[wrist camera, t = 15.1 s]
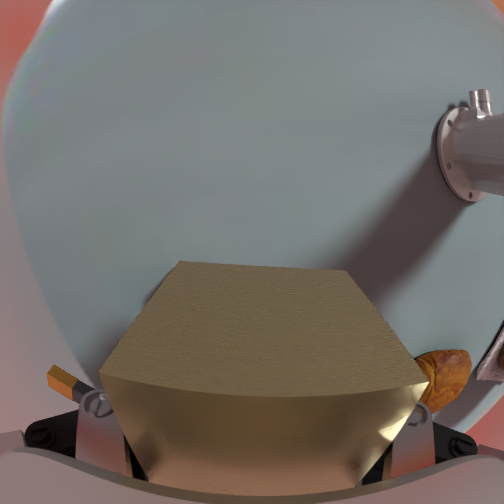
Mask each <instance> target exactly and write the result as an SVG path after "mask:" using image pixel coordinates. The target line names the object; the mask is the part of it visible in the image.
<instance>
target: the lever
mask: <svg viewBox="0 0 504 504" xmlns="http://www.w3.org/2000/svg"><path fill="white" fill-rule="evenodd" d="M47 378H48V385H49V386H50V387H51V388H53V389H54V390H56V391H57V392H59V393H60V394H62V395H64V396H65V397H67V398H69V399H71V400H72V401H75V402H77V403H79V404H80V401H81V399H82V397H83V396H84V395H85V394H86V393H88V392H89V391H92V390H95V389H94V388H92V387H90V386H88V385H87V384H85V383H83V382H81V381H79V380H78V379H77V378H76V377H74V376H72V375H70V374H69V373H67V372H65V371H64V370H62V369H61V368H59V367H57V366H56V365H53V366H52V367H51V369H50V370H49V371H48V372H47Z"/></svg>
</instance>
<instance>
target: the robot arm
mask: <svg viewBox="0 0 504 504" xmlns="http://www.w3.org/2000/svg"><path fill="white" fill-rule="evenodd" d="M478 95H479V96H478ZM469 96H470V102H471V107H469V108H467V107H456V108H453V109H451V110H449V111H448V112H447V113H446V114H445V115H444V116H443V118H442V120H441V122H440V125H439V128H438V134H437V153H438V159H439V164H440V168H441V171H442V174H443V176H444V178H445V180H446V182H447V184H448V186H449V187H450V189H451V190H452V191H453V192H454V193H455V194H456V195H457V196H458V197H460V198H461V199H463V200H466V201H471V202H478V201H480V200H482V199H484V198H485V197H486V196H487V195H488V194H489V193H491V194H496V195H501V196H504V114H494V113H492V112H491V96H490V92H489V91H488V90H485V89H479V90H478V92H476V91H469ZM479 103H480V108H479ZM0 504H504V451H501V450H498V449H494V448H490V447H487V446H484V445H481V444H480V445H479V446H478V447H477V445H476V443H475V441H474V440H473V439H472V438H471V437H470V436H468V435H466V434H464V433H461V432H458V431H455V430H453V429H450V428H447V427H445V426H442V425H439V424H437V423H434V422H432V415H431V412H430V410H429V408H428V407H427V406H426V405H425V404H424V403H422V402H420V401H418V403H417V404H416V406H415V407H414V409H413V411H412V412H411V414H410V416H409V417H408V419H407V420H406V422H405V423H404V425H403V426H402V428H401V429H400V431H399V432H398V434H397V435H396V436H395V438H394V439H393V441H392V442H391V443H390V445H389V446H388V447H387V449H386V450H385V451H384V453H383V454H382V455H381V456H380V458H379V459H378V460H377V461H376V463H375V464H374V465H373V466H372V467H371V469H370V470H369V471H368V472H367V473H366V475H365V476H364V477H363V478H362V479H361V480H360V481H359V482H358V483H357V487H354V488H348V489H342V490H336V491H329V492H321V493H313V494H302V495H285V496H242V495H226V494H215V493H206V492H198V491H191V490H185V489H179V488H174V487H169V486H164V485H159V484H155V483H151V482H149V480H148V477H147V475H146V473H145V472H144V470H143V468H142V467H141V465H140V463H139V462H138V460H137V458H136V456H135V454H134V452H133V451H132V449H131V447H130V445H129V443H128V441H127V439H126V437H125V435H124V433H123V431H122V429H121V427H120V425H119V423H118V420H117V418H116V416H115V414H114V411H113V409H112V407H111V404H110V402H109V399H108V397H107V395H106V392H105V389H95V390H92V391H89V392H88V393H86V394H85V395H84V396H83V397H82V399H81V401H80V405H79V409H78V410H75V411H72V412H68V413H65V414H62V415H58V416H54V417H51V418H47V419H43V420H39V421H36V422H33V423H32V424H31V425H29V426H28V428H27V430H26V432H24V433H23V432H22V431H21V430H18V431H13V432H8V433H2V434H0Z"/></svg>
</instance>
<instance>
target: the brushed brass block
mask: <svg viewBox="0 0 504 504" xmlns="http://www.w3.org/2000/svg"><path fill="white" fill-rule="evenodd" d="M98 373H99V376H100V379H101V381H102V384H103V387H104V389H105V392H106V395H107V397H108V399H109V402H110V404H111V407H112V409H113V411H114V414H115V416H116V418H117V420H118V423H119V425H120V427H121V429H122V431H123V433H124V435H125V437H126V439H127V441H128V443H129V445H130V447H131V449H132V451H133V452H134V454H135V456H136V458H137V460H138V462H139V463H140V465H141V467H142V468H143V470H144V472H145V473H146V475H147V477H148V478H149V480H150V481H151V483H155V484H159V485H164V486H169V487H174V488H179V489H185V490H191V491H198V492H206V493H215V494H226V495H242V496H285V495H302V494H313V493H321V492H329V491H336V490H342V489H348V488H354V487H355V486H356V485H357V483H358V482H359V481H360V480H361V479H362V478H363V477H364V476H365V475H366V473H367V472H368V471H369V470H370V469H371V467H372V466H373V465H374V464H375V463H376V461H377V460H378V459H379V458H380V456H381V455H382V454H383V453H384V451H385V450H386V449H387V447H388V446H389V445H390V443H391V442H392V441H393V439H394V438H395V436H396V435H397V434H398V432H399V431H400V429H401V428H402V426H403V425H404V423H405V422H406V420H407V419H408V417H409V416H410V414H411V412H412V411H413V409H414V407H415V406H416V404H417V403H418V401H419V399H420V397H421V396H422V394H423V392H424V390H425V389H426V387H427V385H428V383H429V380H428V379H427V377H426V376H425V374H424V373H423V372H422V370H421V369H420V367H419V366H418V364H417V363H416V362H415V360H414V359H413V357H412V356H411V355H410V353H409V352H408V350H407V349H406V348H405V346H404V345H403V344H402V342H401V341H400V339H399V338H398V337H397V335H396V334H395V333H394V331H393V330H392V329H391V327H390V326H389V325H388V323H387V322H386V321H385V320H384V318H383V317H382V316H381V314H380V313H379V312H378V310H377V309H376V308H375V307H374V305H373V304H372V303H371V302H370V300H369V299H368V298H367V296H366V295H365V294H364V293H363V291H362V290H361V289H360V288H359V287H358V285H357V284H356V283H355V282H354V280H353V279H352V278H351V277H350V276H349V274H348V273H347V272H346V271H345V270H325V269H305V268H286V267H268V266H250V265H233V264H217V263H202V262H187V261H179V262H178V264H177V265H176V266H175V267H174V269H173V270H172V271H171V273H170V274H169V275H168V276H167V278H166V279H165V280H164V282H163V283H162V284H161V285H160V287H159V288H158V289H157V291H156V292H155V293H154V295H153V296H152V297H151V299H150V300H149V301H148V303H147V304H146V305H145V307H144V308H143V309H142V311H141V312H140V313H139V315H138V316H137V318H136V319H135V320H134V322H133V323H132V324H131V326H130V327H129V329H128V330H127V331H126V333H125V334H124V336H123V337H122V338H121V340H120V341H119V343H118V344H117V345H116V347H115V348H114V350H113V351H112V353H111V354H110V356H109V357H108V358H107V360H106V361H105V363H104V364H103V366H102V367H101V369H100V370H99V372H98Z"/></svg>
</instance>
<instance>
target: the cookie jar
mask: <svg viewBox="0 0 504 504" xmlns="http://www.w3.org/2000/svg"><path fill="white" fill-rule="evenodd" d="M477 380H482V381H483V380H491V381H492V380H496V381H504V327H503V329H502V331H501V332H500V334H499V336H498V338H497V339H496V341H495V343H494V344H493V346H492V348H491V349H490V351H489V352H488V354H487V356H486V357H485V359H484V360H483V361H482V362H481V364H480V365H479V367H478V370H477Z"/></svg>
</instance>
